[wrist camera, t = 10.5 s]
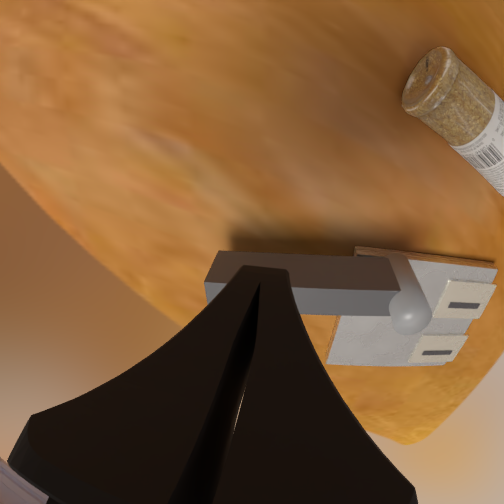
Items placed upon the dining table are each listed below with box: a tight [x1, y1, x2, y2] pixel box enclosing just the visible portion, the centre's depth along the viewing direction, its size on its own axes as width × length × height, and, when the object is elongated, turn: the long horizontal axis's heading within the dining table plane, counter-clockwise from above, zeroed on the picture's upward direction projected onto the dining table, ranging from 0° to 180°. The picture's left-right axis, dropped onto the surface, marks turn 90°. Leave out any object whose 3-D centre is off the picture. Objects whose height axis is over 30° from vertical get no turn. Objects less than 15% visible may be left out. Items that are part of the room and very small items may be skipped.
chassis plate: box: [326, 246, 498, 366], centre depth 20 cm, size 12×11×1 cm
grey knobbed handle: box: [204, 251, 432, 335], centre depth 16 cm, size 2×12×5 cm, turn 92°
